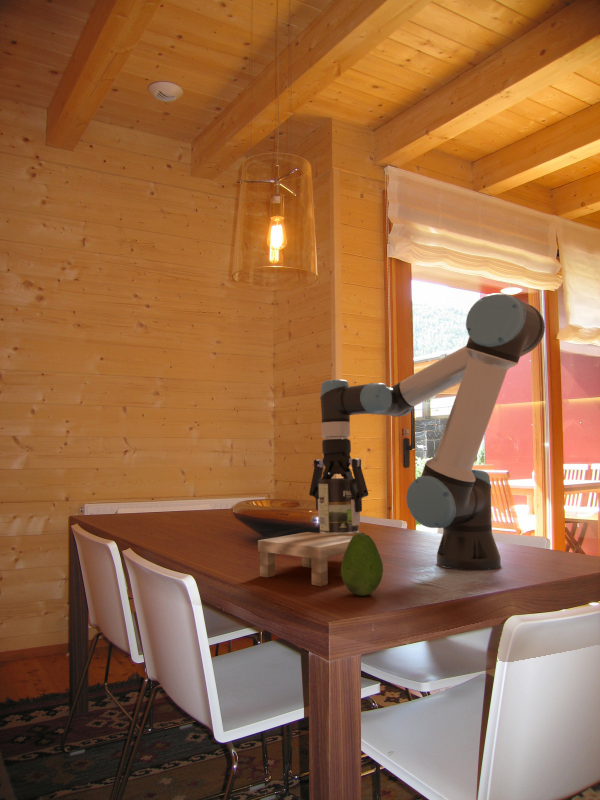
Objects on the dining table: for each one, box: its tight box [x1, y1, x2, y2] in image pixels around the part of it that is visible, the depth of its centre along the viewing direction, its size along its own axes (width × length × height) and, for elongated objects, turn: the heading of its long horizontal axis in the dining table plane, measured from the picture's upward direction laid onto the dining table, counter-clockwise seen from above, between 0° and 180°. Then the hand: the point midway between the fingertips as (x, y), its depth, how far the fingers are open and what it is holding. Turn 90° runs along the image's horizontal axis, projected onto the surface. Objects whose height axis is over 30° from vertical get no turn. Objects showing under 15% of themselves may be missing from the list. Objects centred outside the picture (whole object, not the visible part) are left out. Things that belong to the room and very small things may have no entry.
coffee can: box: [318, 477, 360, 536], centre depth 160 cm, size 10×10×14 cm
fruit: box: [340, 532, 384, 597], centre depth 120 cm, size 8×8×12 cm
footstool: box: [257, 531, 354, 587], centre depth 140 cm, size 18×18×8 cm
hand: (339, 524), depth 159 cm, fingers closed on coffee can, 10 cm apart
